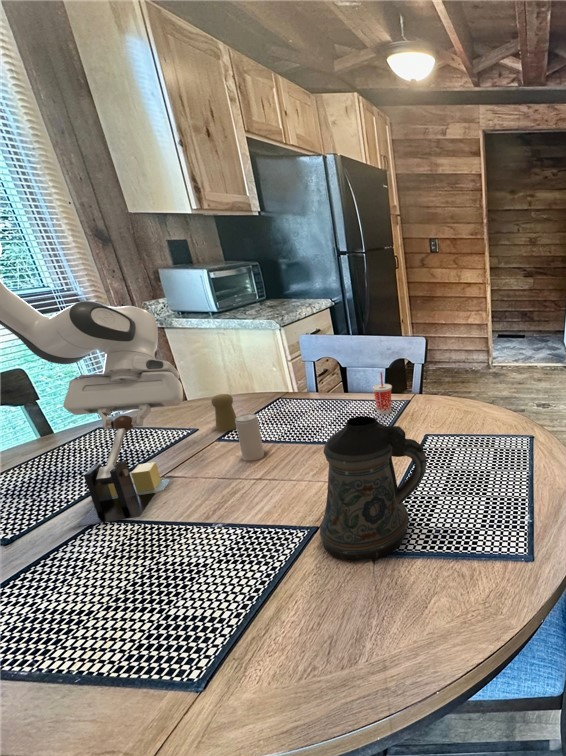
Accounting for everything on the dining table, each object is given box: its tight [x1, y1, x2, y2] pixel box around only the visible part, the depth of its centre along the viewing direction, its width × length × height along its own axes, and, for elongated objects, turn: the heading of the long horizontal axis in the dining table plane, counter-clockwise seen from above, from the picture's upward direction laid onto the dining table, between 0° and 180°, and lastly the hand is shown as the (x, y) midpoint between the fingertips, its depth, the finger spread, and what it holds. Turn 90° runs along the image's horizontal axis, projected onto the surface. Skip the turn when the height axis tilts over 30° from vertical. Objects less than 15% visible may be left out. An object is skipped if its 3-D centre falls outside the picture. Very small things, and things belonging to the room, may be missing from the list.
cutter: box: [76, 460, 158, 528], centre depth 85 cm, size 9×10×11 cm
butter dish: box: [112, 478, 171, 499], centre depth 93 cm, size 12×5×1 cm, turn 112°
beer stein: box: [319, 415, 428, 562], centre depth 79 cm, size 16×19×25 cm
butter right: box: [130, 461, 162, 493], centre depth 93 cm, size 3×4×5 cm
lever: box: [96, 415, 134, 485], centre depth 88 cm, size 16×4×4 cm, turn 21°
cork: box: [210, 393, 238, 432], centre depth 123 cm, size 6×6×11 cm
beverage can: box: [235, 413, 265, 462], centre depth 107 cm, size 5×5×12 cm
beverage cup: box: [372, 371, 393, 415], centre depth 138 cm, size 6×6×14 cm
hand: (123, 427), depth 91 cm, fingers closed on lever, 3 cm apart
